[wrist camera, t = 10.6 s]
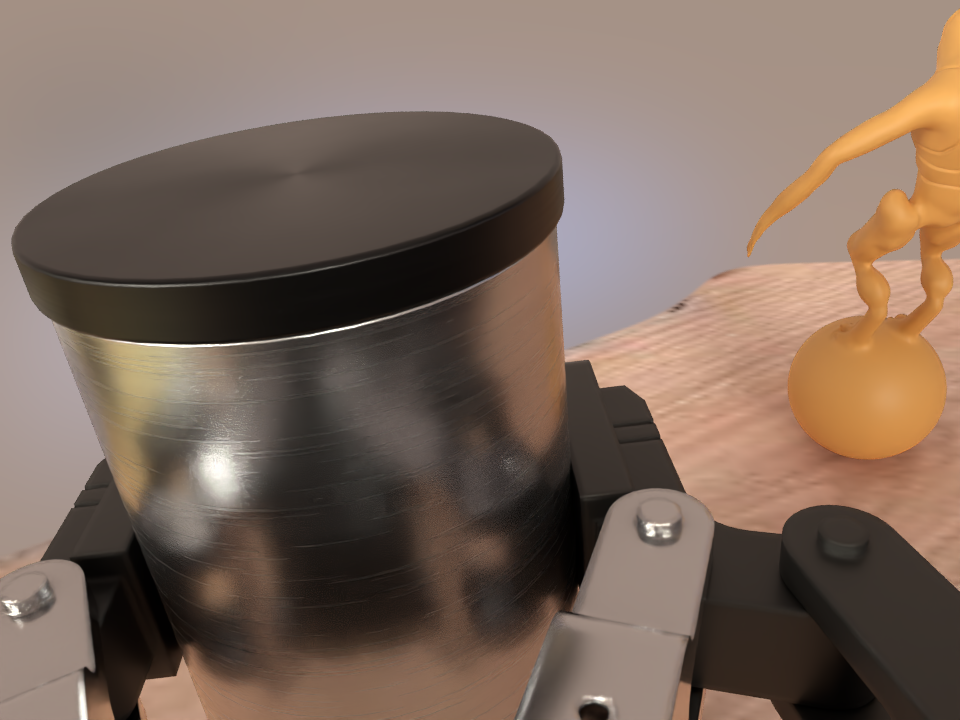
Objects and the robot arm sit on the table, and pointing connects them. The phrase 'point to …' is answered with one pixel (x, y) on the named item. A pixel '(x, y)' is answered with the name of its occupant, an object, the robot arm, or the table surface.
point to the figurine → (885, 281)
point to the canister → (331, 403)
